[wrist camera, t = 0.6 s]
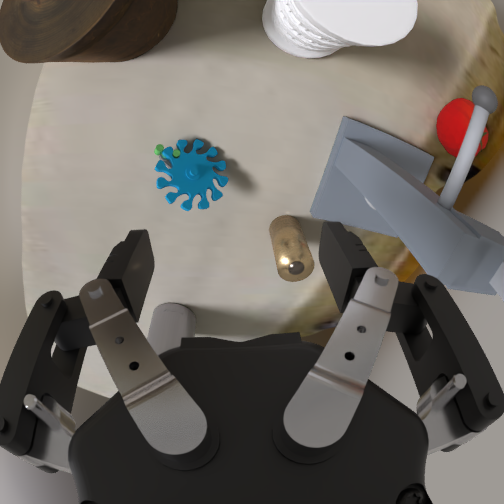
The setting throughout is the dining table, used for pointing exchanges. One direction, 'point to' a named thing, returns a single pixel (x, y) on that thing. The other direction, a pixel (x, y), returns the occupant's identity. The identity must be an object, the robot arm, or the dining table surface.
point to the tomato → (456, 125)
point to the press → (414, 201)
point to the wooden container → (83, 29)
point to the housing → (290, 249)
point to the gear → (189, 173)
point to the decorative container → (336, 24)
